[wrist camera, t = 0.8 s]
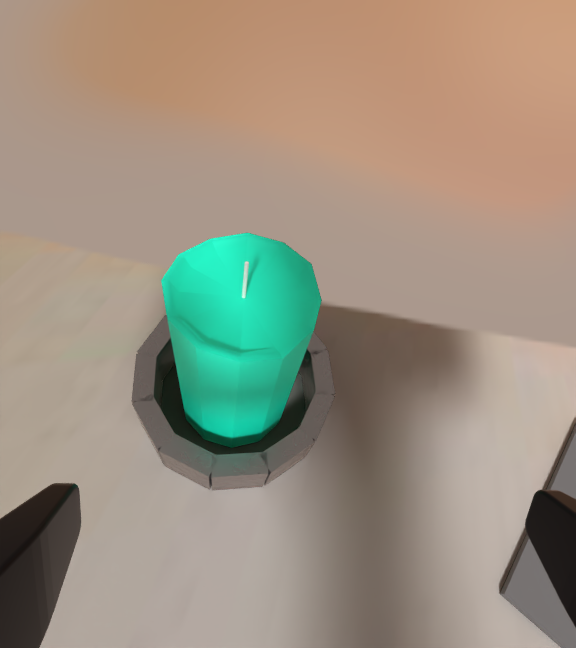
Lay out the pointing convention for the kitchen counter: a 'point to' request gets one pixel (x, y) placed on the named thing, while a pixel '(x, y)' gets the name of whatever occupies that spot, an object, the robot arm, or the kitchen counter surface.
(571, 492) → the mat
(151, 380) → the ring holder
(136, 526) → the kitchen counter surface
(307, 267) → the candle
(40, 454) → the kitchen counter surface
